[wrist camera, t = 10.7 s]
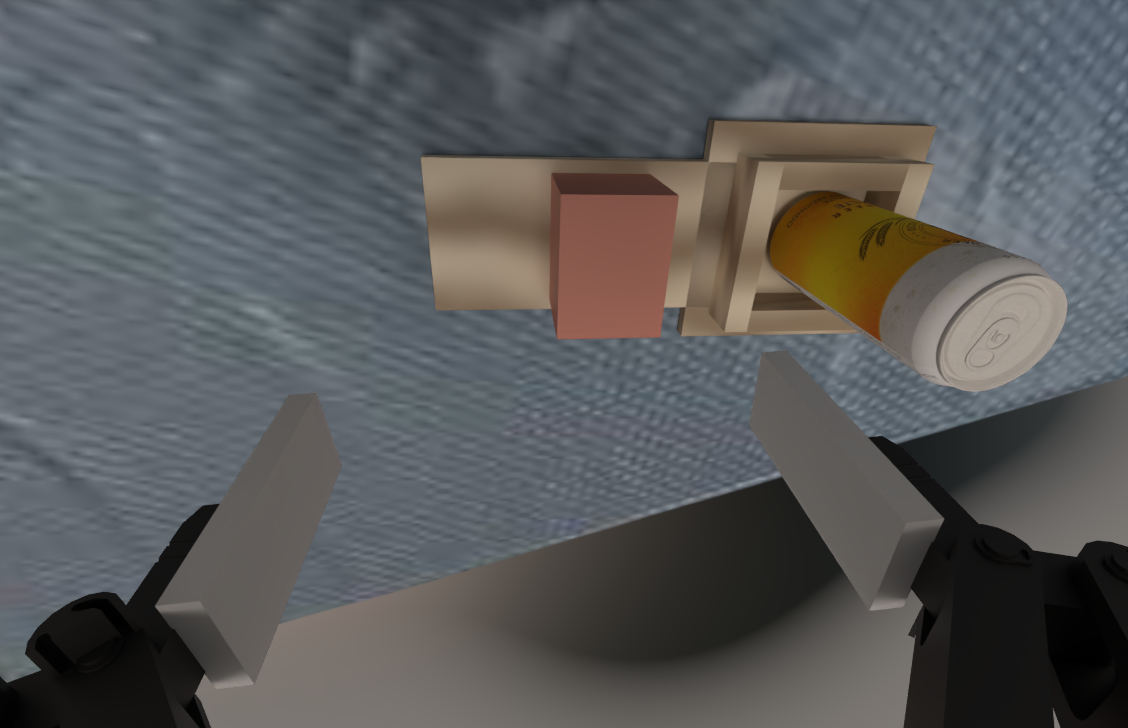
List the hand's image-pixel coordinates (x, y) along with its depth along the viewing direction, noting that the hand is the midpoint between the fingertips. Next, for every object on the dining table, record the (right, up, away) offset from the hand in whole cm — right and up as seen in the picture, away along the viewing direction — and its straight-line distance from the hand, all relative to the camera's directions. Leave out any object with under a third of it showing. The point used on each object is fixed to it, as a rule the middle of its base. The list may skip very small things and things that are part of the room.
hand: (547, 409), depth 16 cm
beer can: (+17, +10, +19) cm, 27 cm away
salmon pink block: (+3, +9, +17) cm, 20 cm away
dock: (+7, +10, +19) cm, 23 cm away
